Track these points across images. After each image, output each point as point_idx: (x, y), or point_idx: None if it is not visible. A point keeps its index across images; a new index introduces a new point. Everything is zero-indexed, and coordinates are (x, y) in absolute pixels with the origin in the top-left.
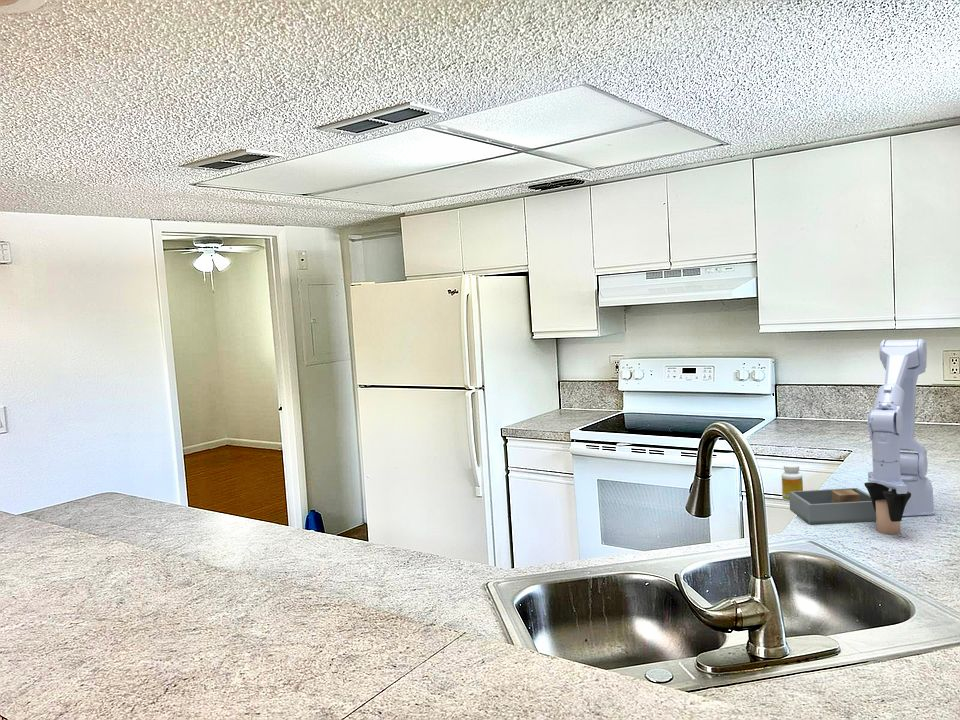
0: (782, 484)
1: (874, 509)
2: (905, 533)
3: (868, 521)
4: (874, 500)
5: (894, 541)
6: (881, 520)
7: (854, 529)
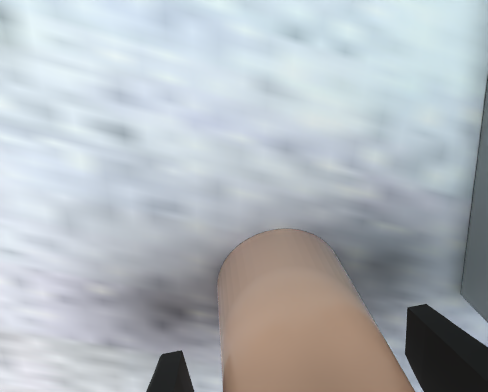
0: None
1: (437, 314)
2: None
3: (470, 228)
4: (478, 383)
5: (72, 270)
6: (247, 297)
7: (332, 104)
